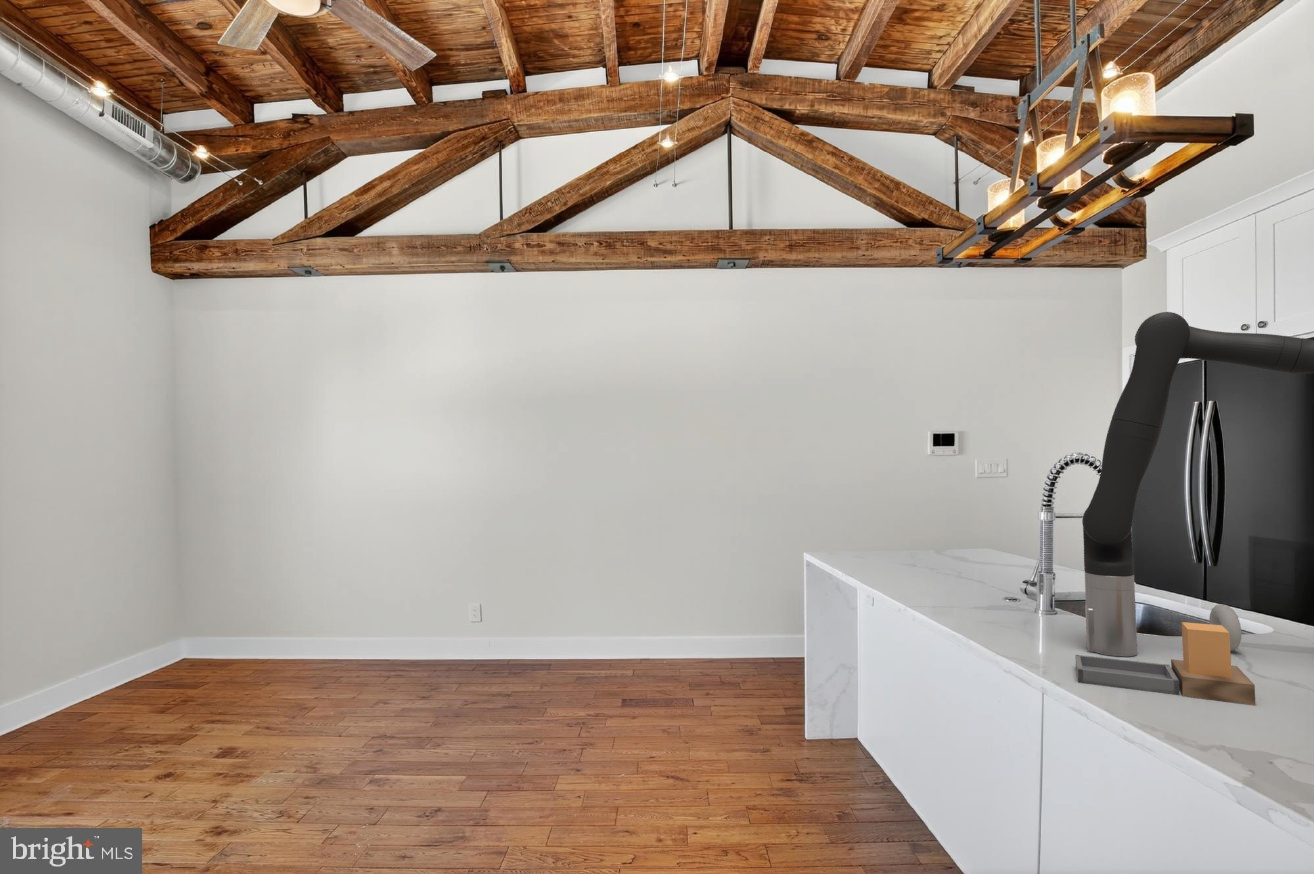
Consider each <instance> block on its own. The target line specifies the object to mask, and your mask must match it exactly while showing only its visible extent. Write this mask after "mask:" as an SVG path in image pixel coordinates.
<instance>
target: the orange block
mask: <svg viewBox="0 0 1314 874" xmlns="http://www.w3.org/2000/svg"><path fill="white" fill-rule="evenodd" d="M1181 637H1182V660H1183V664H1184V666H1185V667H1186V669H1187V670H1188V672H1189V673H1193V674H1202V675H1211V676H1220V677H1229V678H1232V674H1231V666H1232V658H1231V657H1232V656H1231V653H1232V651H1230V633H1229V632H1228V631H1227V630H1226V629H1225V628H1224V627H1223V626H1222V625H1211V624H1210V623H1197V622H1186V621H1185V622H1184V621H1183V622H1181Z"/></svg>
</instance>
